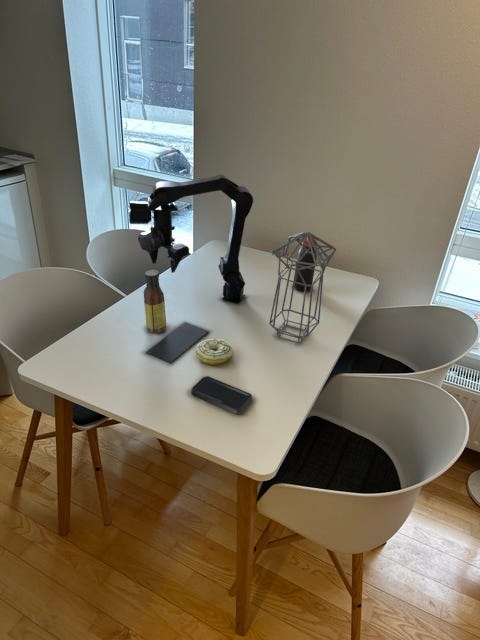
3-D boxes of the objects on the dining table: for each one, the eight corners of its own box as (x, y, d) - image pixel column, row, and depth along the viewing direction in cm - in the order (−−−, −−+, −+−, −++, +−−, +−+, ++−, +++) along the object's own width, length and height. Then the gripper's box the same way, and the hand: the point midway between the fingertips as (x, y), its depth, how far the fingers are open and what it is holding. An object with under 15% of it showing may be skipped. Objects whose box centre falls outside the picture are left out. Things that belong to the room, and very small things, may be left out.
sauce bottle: (168, 324, 154) (167, 269, 143) (163, 335, 148) (162, 278, 138) (148, 322, 154) (145, 266, 143) (143, 332, 149) (139, 276, 138)
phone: (205, 375, 131) (253, 394, 125) (205, 378, 132) (253, 398, 126) (189, 390, 125) (239, 412, 119) (189, 394, 126) (238, 415, 120)
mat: (185, 323, 155) (185, 322, 155) (208, 331, 151) (208, 330, 151) (145, 353, 140) (145, 351, 140) (170, 363, 136) (170, 362, 136)
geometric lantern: (323, 331, 156) (341, 230, 137) (305, 355, 144) (323, 248, 125) (279, 317, 162) (291, 218, 143) (259, 339, 150) (269, 234, 131)
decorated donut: (239, 356, 141) (240, 346, 139) (213, 372, 134) (214, 361, 132) (214, 341, 147) (215, 331, 145) (188, 355, 140) (189, 345, 138)
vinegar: (314, 287, 182) (322, 238, 171) (306, 294, 177) (314, 244, 166) (298, 282, 185) (305, 233, 174) (290, 288, 180) (297, 239, 169)
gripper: (123, 220, 150) (126, 265, 159) (163, 238, 141) (164, 285, 149) (150, 213, 158) (152, 256, 166) (190, 229, 148) (189, 274, 156)
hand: (163, 267), depth 159 cm, fingers open, 9 cm apart
